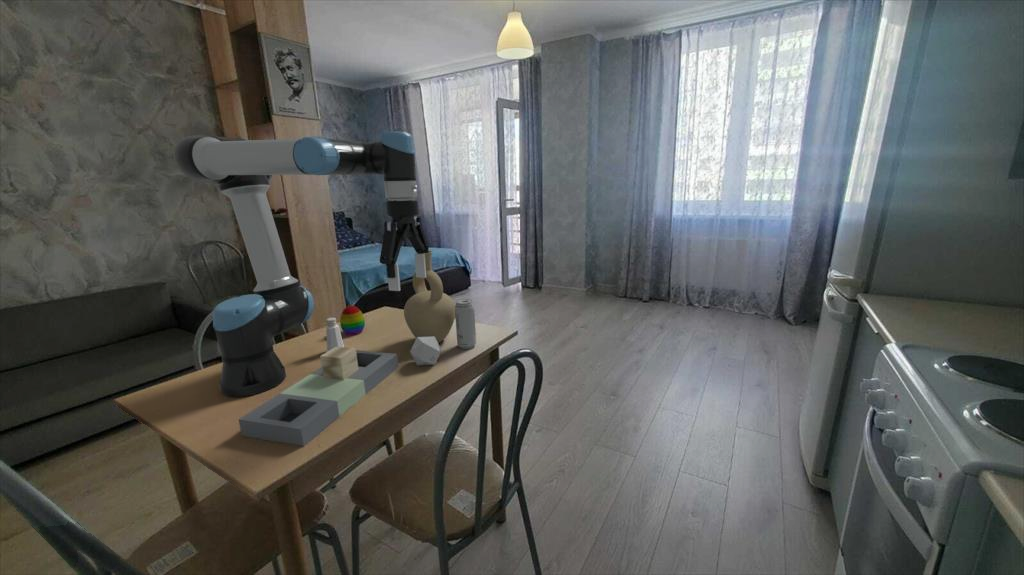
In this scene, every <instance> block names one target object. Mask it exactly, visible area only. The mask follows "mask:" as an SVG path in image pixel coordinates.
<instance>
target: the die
mask: <svg viewBox="0 0 1024 575" xmlns="http://www.w3.org/2000/svg"><path fill="white" fill-rule="evenodd" d="M441 352H442V348H441V346H440V344H439V343H438V342H437V340H436V338H435V336H433V337H417V338H416V337H415V341H414V343H413V345H412V347H411V349H410V350H409V353H410V354H411V357H412V358H413V361H414V362H415V363H416V366H418V367H419V366H436V363H437V361H438V360H439V357H440V355H441Z"/></svg>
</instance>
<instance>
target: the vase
mask: <svg viewBox="0 0 1024 575" xmlns="http://www.w3.org/2000/svg"><path fill="white" fill-rule="evenodd" d="M432 255H433V251H432V250H429V251H428V253H425V265H426V278H421V277H416V271H415V272H414V273H413V276H412V287H413V290H414V293H415V294H413V295H412V296H410V297H409V298H408V299H407V301H406V303H405V305H404V307H403V316H404V317H403V318H404V320H405V323H406V325H407V327H408V328H409V330H410V332H411V334H412V335H413V336H414V338H415V339H416V338H417V337H433V336H435V338H436V340H437V342H438V344H439V343H441V342H442V341H444V340H445V339H446V338H447V336H448V335H449V333H450V332H451V330H452V327H453V325H454V322H455V320H456V318H455V305H456V302H454V300H453V299H452V297H451V296H450V295H448V294H446V293H444V287H443V282H442V280H441V277H440V276H439V274H437V273H436V272H435V271H434V270H432V269H433V267H432ZM425 279H426V281H427V282H428V283H429V287H430V290H428V289H427V285H426V283H425Z"/></svg>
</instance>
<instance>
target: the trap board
mask: <svg viewBox="0 0 1024 575" xmlns="http://www.w3.org/2000/svg"><path fill="white" fill-rule="evenodd" d="M356 355H357V362H358V369H359V370H357V371H356V372H354V373H353V374H352V375H350V376H349V377H348V378H346V379H345V380H338V379H330V378H324V376H323V370H322V366H321V367H319V368H318V369H316V370H314V371H313V372H311V373H310V374H308V375H307V376H305V377H304V378H302V379H300V380H298V381H297V382H295V383H294V384H293V385H290V386H289V387H288V388H285V389H284V390H283V391H281V392H279V393H278V394H277V395H275V396H273V397H272V398H270V399H269V400H267V401H265V402H263V403H262V404H261V405H259V406H257V407H256V408H254V409H252V410H251V411H249V412H247V413H246V414H245V415H243V416H241V417H240V418H239V419H238V423H239V429H240V432H241V436H242V437H247V438H252V439H260V440H264V441H265V440H266V441H269V442H270V441H271V442H275V443H276V442H277V443H283V444H287V445H295V446H300V447H305V446H306V445H307V444H309V443H310V442H311V441H312V440H314V439H315V438H316V437H317V436H318V435H319V434H321V433H322V432H323V431H324V430H325V429H326V428H328V427H329V426H330V425H331V424H333V423H334V422H335V421H336V420H337V419H339V417H341V416H342V415H343V414H344V413H346V412H347V411H348V410H349V409H351V408H352V406H354V405H356V403H357V402H358V401H360V400H361V399H362V398H363V397H364V396H366V395H367V394H368V393H369V392H371V391H372V390H373V389H374V388H375V387H377V386H378V385H379V384H380V383H382V381H384V380H385V379H386V378H387V377H388V376H390V375H391V374H392V373H394V371H396V370H397V369H398V368H400V367H399V366H400V365H399V358H398V353H390V352H382V351H381V352H380V351H369V350H357V349H356Z"/></svg>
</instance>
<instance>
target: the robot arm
mask: <svg viewBox="0 0 1024 575" xmlns="http://www.w3.org/2000/svg"><path fill="white" fill-rule="evenodd" d="M414 147H415V146H414V138H413V135H412V134H411V133H409V132H406V131H396V130H395V131H393V130H392V131H390V130H389V131H383V132H380V135H379V141H372V142H371V141H369V142H368V141H364V142H361V141H354V140H353V141H350V140H345V139H344V140H342V139H334V138H333V139H332V138H327V137H323V136H304V137H301V138H288V139H287V138H286V139H285V138H282V139H279V138H278V139H253V140H250V139H245V138H242V137H226V136H214V135H213V136H212V135H205V134H197V135H196V134H194V135H189V136H186V137H184V138H182V139H180V140H179V141H178V142H177V143H176V144H175V147H174V149H173V161H174V164H175V165H176V167H177V169H178V170H179V171H180V172H181V173H182V174H183V175H184V176H185V177H187V178H189V179H190V180H193V181H195V182H198V183H202V184H212V185H213V184H218V187H219V190H220V192H221V194H222V195H224V196H226V197H228V198H229V199H230V202H231V205H232V208H233V211H234V215H235V219H236V221H237V223H238V224H237V225H238V227H239V230H240V233H241V236H242V238H243V239H242V240H243V242H244V245H245V246H244V247H245V248H246V252H247V255H248V258H249V260H250V261H249V262H250V264H251V268H252V270H253V273H254V277H255V279H256V285H255V287H254V289H253V294H249V293H248V294H243V295H239V296H234V297H232V298H229V299H226V300H224V301H222V302H220V303H218V304H217V305H216V306H214V308H213V309H212V313H211V316H212V325H213V326H212V327H213V329H214V331H215V336H216V339H217V344H218V347H219V352H220V356H221V360H222V367H221V376H220V380H219V388H220V392H221V394H222V395H224V396H226V397H233V398H234V397H235V398H236V397H237V398H238V397H248V396H251V395H252V396H253V395H257V394H259V393H262V392H266V391H268V390H271V389H272V388H275V387H277V386H278V385H280V384H281V383H282V382H284V380H285V379H286V377H287V373H286V368H285V366H284V364H283V363H282V361H281V360H280V358H279V357H278V356H277V354H276V352H275V349H274V345H273V339H272V338H274V337H276V336H278V335H281V334H283V333H285V332H287V331H289V330H291V329H294V328H297V327H299V326H301V325H302V324H304V323H306V322H307V321H308V320H310V318H311V316H312V315H313V313H314V308H315V303H314V297H313V295H312V293H311V292H310V291H309V290H307V288H306V287H305V286H303V285H300V282H299V279H297V278H296V277H293V275H291V272H290V270H289V265H288V263H287V258H286V256H285V252H284V249H283V246H282V243H281V240H280V236H279V233H278V229H277V226H276V223H275V220H274V216H273V212H272V209H271V207H270V202H269V200H268V196H267V192H268V190H269V189H270V187H271V186H270V183H269V181H270V180H271V178H272V177H273V176H277V175H278V176H280V175H281V176H285V175H287V176H288V175H289V176H292V175H294V176H295V175H297V176H298V175H301V176H302V175H303V176H304V175H306V176H307V175H309V176H328V175H329V176H331V175H335V176H336V175H347V176H361V175H362V176H366V175H369V176H370V175H383V181H384V182H383V184H384V193H385V194H384V195H385V196H384V197H385V198H386V199H388V200H387V201H386V203H385V204H386V214H387V216H388V217H391V218H392V221H384V226H383V227H384V232H383V238H382V243H381V250H380V256H379V263H380V264H381V265H385V266H386V277H387V282H388V291H393V292H400V291H401V290H402V289H401V279H400V269H399V264H398V263H397V261H398V258H399V254H400V251H401V248H402V245H403V242H404V241H405V240H406V239H408V240H409V242H410V244H411V246H412V248H413V249H414V251H415V253H414V254H413V255H414V266H415V267H414V268H415V272H416V277H421V278H424V279H426V265H425V253H428V251H430V250H429V249H430V246H429V242H428V241H427V240H428V239H427V236H426V234H425V230H424V227H423V224H422V218H421V216H418V215H419V201H418V200H417V199H416V198H418V185H417V178H416V177H417V176H416V175H417V174H416V160H415V155H416V151H415V148H414Z"/></svg>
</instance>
